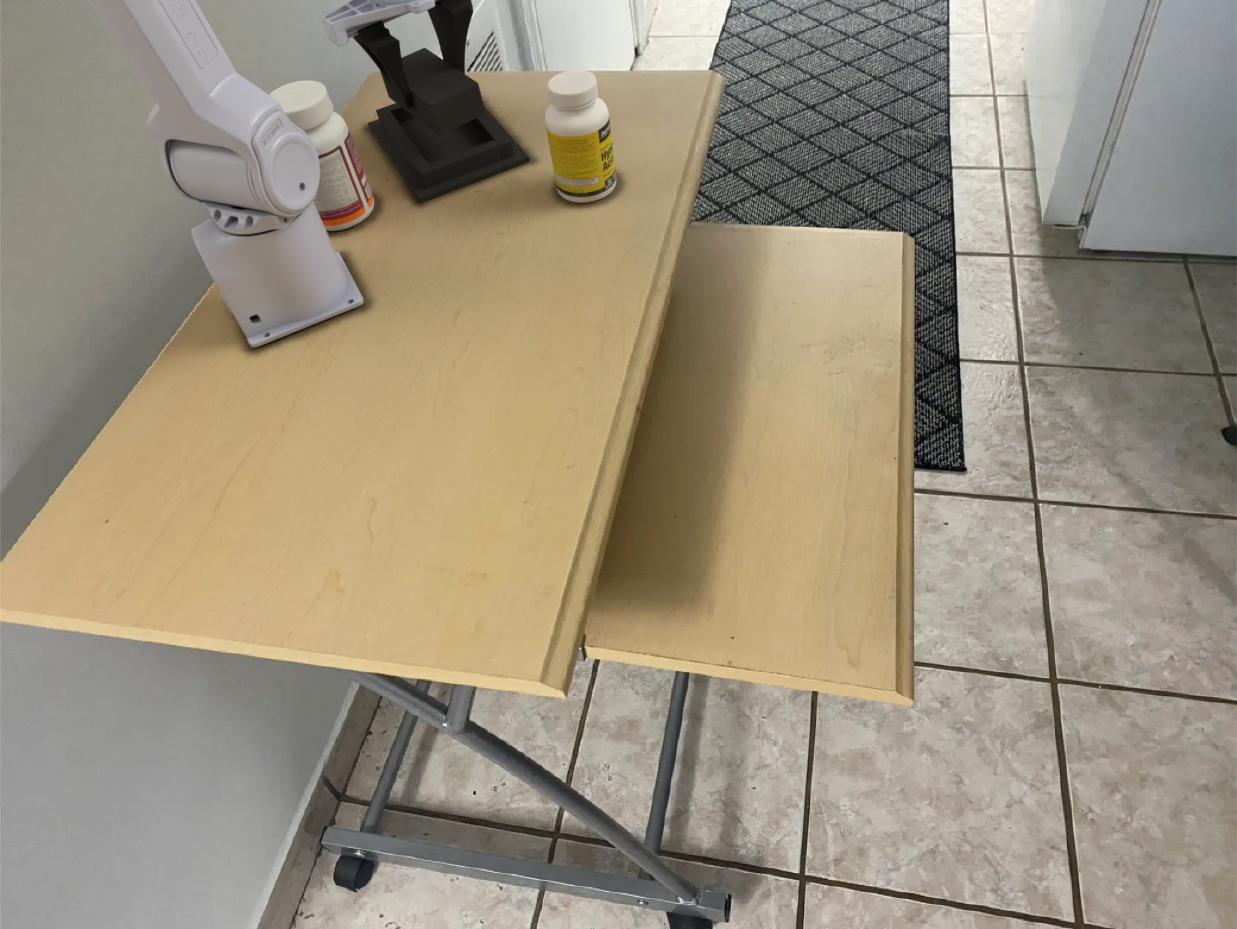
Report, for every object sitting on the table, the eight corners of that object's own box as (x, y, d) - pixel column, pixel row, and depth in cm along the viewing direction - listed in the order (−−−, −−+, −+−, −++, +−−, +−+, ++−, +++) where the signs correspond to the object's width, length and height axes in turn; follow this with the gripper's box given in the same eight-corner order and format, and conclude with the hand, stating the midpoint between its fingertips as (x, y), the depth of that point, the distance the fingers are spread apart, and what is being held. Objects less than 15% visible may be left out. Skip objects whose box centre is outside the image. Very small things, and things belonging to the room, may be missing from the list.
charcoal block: (486, 113, 83) (478, 82, 81) (439, 136, 81) (430, 105, 79) (433, 77, 88) (424, 46, 86) (388, 97, 87) (378, 67, 85)
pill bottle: (337, 187, 85) (290, 71, 76) (389, 199, 83) (347, 81, 74) (295, 226, 82) (241, 109, 73) (348, 239, 80) (299, 120, 71)
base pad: (530, 161, 84) (526, 141, 83) (420, 203, 82) (413, 184, 80) (468, 91, 94) (464, 72, 92) (368, 127, 92) (362, 108, 90)
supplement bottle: (617, 202, 79) (603, 95, 71) (555, 207, 79) (535, 102, 72) (618, 166, 82) (605, 61, 75) (559, 172, 83) (540, 68, 75)
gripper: (326, -23, 69) (382, 139, 79) (486, -86, 73) (519, 75, 84) (289, -47, 73) (347, 110, 83) (443, -106, 77) (480, 50, 88)
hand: (431, 91), depth 84 cm, fingers closed on charcoal block, 5 cm apart
